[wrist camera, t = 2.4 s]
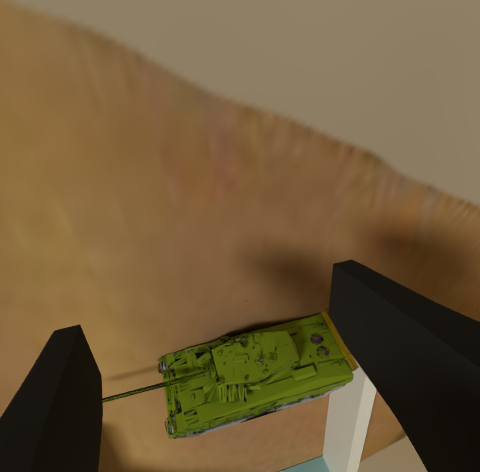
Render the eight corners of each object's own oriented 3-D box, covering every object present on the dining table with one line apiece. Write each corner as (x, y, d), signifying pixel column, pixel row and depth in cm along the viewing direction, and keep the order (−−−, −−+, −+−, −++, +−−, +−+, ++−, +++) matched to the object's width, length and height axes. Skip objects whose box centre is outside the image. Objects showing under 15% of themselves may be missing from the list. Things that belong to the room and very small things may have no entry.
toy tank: (355, 414, 25) (400, 339, 18) (70, 507, 21) (-10, 457, 14) (312, 329, 30) (335, 244, 23) (75, 392, 26) (17, 312, 19)
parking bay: (107, 539, 34) (106, 594, 31) (31, 423, 24) (18, 488, 21) (331, 457, 39) (351, 497, 36) (350, 332, 29) (380, 372, 25)
